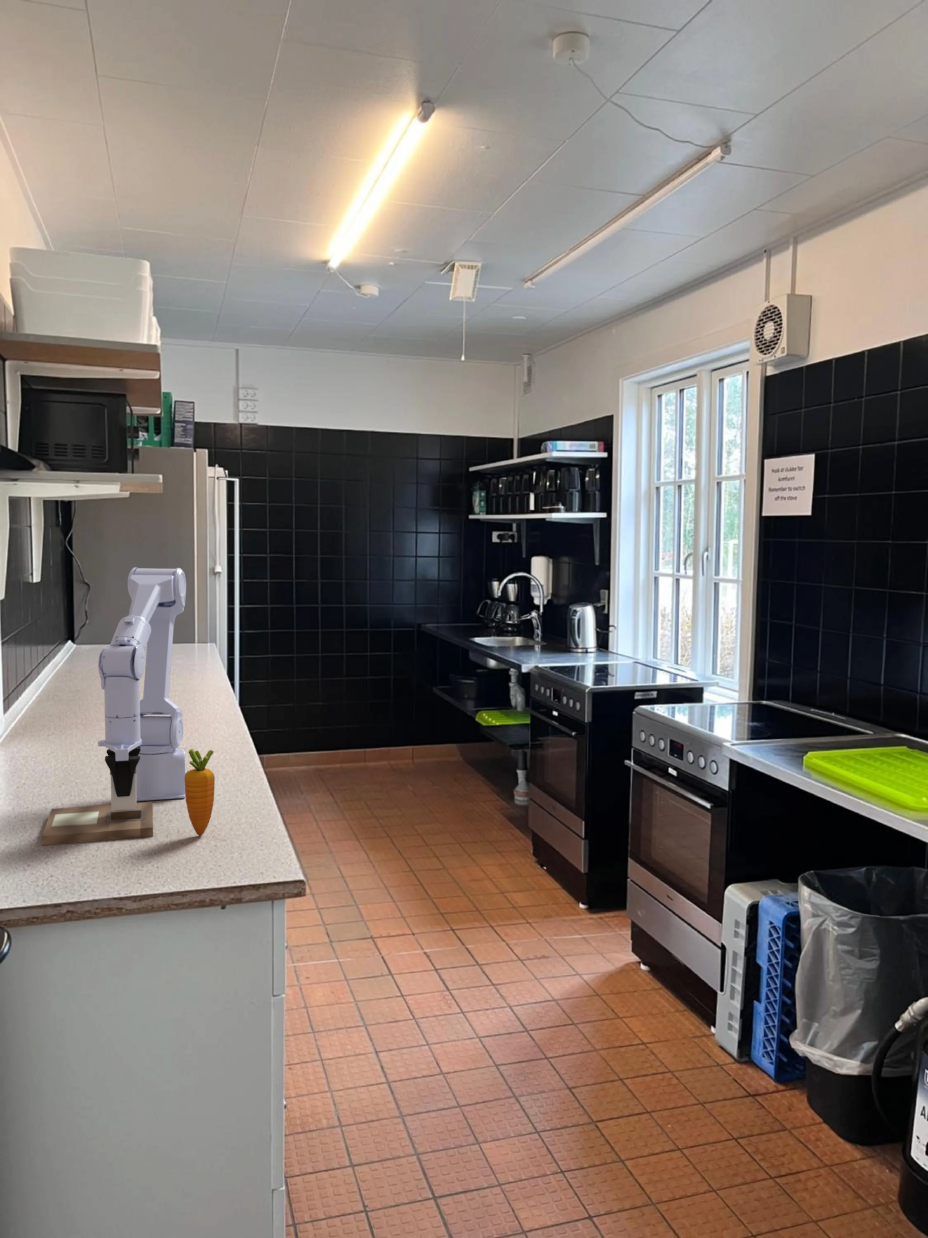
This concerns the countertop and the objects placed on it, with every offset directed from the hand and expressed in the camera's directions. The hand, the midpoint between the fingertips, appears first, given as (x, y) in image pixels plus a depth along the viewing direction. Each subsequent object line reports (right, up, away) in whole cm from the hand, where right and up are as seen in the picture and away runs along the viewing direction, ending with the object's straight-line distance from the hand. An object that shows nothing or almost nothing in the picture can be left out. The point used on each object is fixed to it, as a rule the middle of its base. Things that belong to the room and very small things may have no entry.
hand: (123, 792), depth 163 cm
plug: (0, -2, 0) cm, 2 cm away
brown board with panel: (-4, -6, -1) cm, 7 cm away
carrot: (+15, -7, -5) cm, 17 cm away
